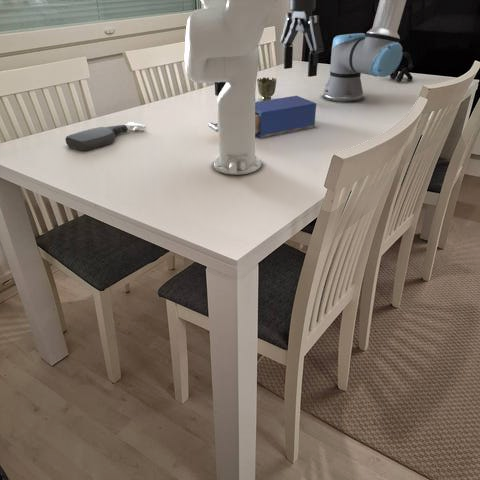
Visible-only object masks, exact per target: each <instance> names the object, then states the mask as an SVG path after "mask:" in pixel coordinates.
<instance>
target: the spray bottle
mask: <svg viewBox="0 0 480 480" xmlns="http://www.w3.org/2000/svg"><path fill="white" fill-rule="evenodd" d="M142 129H143V130H145V129H147V126H146V125H144V124H141V123H137V122H133V121H128V123H125V124H118V125H111V126H99V127H93V128H90V129H85V130H81V131H78V132H75V133H72V134H68V135H67V136H66V137H65V139H64V140H65V143H66V145H67V146H68V147H70V148H73V149H75V150H78V151H81V152H86V151H90V150H94V149H98V148H100V147H104V146H107V145H109V144H112V143H114V140H115V138H116V136H117V135H119V134H122V133H123V134H124V133H127V132H128V131H132V132H134V131H136V130H142Z"/></svg>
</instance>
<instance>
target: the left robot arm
mask: <svg viewBox="0 0 480 480" xmlns="http://www.w3.org/2000/svg"><path fill="white" fill-rule="evenodd" d="M277 1H278V0H200V3H202V5H203V7H202V8H198V9H195V10H193V11H191V13H190V14H189V15H188V18H187V21H186V29H185V41H184V43H185V44H184V69H185V72H186V75H187V77H188V79H189V80H190V81H192V83H193V82H194V83H197V84H208V83H209V84H210V83H214V96H216V97H217V100H216V110H217V111H216V112H217V123H218V132H217V133H218V135H217V136H218V137H217V138H218V157H216V158H215V159H214V160H213V167H214V169H215V170H216V171H217V172H219V173H222V174H226V175H233V176H234V175H238V176H239V175H247V174H252V173H254V172H256V171H258V170H259V169H260V168H261V166H262V161H261V159H260V158H259V157H258V156H256V135H255V102H256V90H257V89H256V88H257V79H258V72H259V64H260V50H259V47H258V46H259V44H260V42H261V40H262V36H263V33H264V30H265V28H266V24H267V22H268V18H269V14H270V13H271V10H272V9H273V8H274V5H275V4H276V3H277Z"/></svg>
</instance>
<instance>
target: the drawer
mask: <svg viewBox="0 0 480 480" xmlns="http://www.w3.org/2000/svg"><path fill="white" fill-rule="evenodd" d="M208 128H210V129H212V130H213V131H214V132H216V133H218V122H217V123H213V122H208ZM259 132H260V115H259V114H257V113H255V133H259Z"/></svg>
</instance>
